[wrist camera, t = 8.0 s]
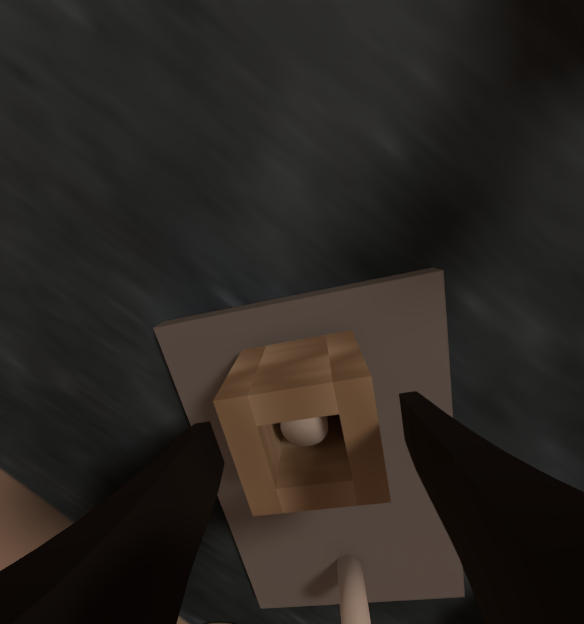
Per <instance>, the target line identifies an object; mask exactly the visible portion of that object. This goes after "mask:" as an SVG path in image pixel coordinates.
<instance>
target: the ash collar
mask: <svg viewBox="0 0 584 624" xmlns="http://www.w3.org/2000/svg"><path fill="white" fill-rule="evenodd" d="M213 403H214V406H215V409H216V412H217V415H218V417H219V420H220V423H221V426H222V429H223V432H224V435H225V438H226V440H227V443H228V446H229V449H230V452H231V455H232V458H233V461H234V463H235V466H236V469H237V472H238V475H239V478H240V481H241V484H242V486H243V489H244V492H245V495H246V498H247V501H248V504H249V507H250V509H251V512H252V515H253V516H261V515H271V514H281V513H291V512H301V511H311V510H321V509H330V508H340V507H350V506H360V505H370V504H380V503H390V502H391V498H390V492H389V485H388V479H387V472H386V466H385V459H384V453H383V447H382V440H381V434H380V427H379V421H378V415H377V408H376V402H375V395H374V389H373V383H372V376H371V374H370V371H369V369H368V367H367V364H366V362H365V359H364V357H363V355H362V352H361V350H360V347H359V345H358V343H357V340H356V338H355V336H354V333H353V331H352V330H349V331H344V332H338V333H333V334H327V335H322V336H316V337H311V338H305V339H300V340H294V341H289V342H283V343H277V344H272V345H266V346H261V347H255V348H250V349H244V350H242V351H241V352H240V354H239V356H238V358H237V359H236V361H235V363H234V365H233V366H232V368H231V370H230V372H229V374H228V375H227V377H226V379H225V381H224V382H223V384H222V386H221V388H220V389H219V391H218V393H217V395H216V397H215V398H214V400H213ZM323 416H327V419H328V432H327V434H326V436H325V438H324V439H323V440H322V441H321V442H319V443H317V444H315V445H312V446H298V445H295V444H293V443H291V442H289V441H288V440H287V439H286V438H285V437H284V435H283V434H282V431H281V422H288V421H295V420H302V419H309V418H316V417H323Z"/></svg>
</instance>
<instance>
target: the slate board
mask: <svg viewBox="0 0 584 624" xmlns="http://www.w3.org/2000/svg"><path fill="white" fill-rule="evenodd" d="M153 329H154V331H155V334H156V337H157V339H158V342H159V344H160V347H161V350H162V352H163V355H164V357H165V360H166V363H167V365H168V368H169V370H170V373H171V376H172V378H173V381H174V383H175V386H176V389H177V391H178V394H179V396H180V399H181V402H182V404H183V407H184V409H185V412H186V415H187V417H188V420H189V423H190V425H191V426H193V425H194V424H195V423H201V422H208V421H210V423H211V426H212V428H213V431H214V434H215V437H216V440H217V443H218V445H219V448H220V451H221V454H222V457H223V459H224V462H225V464H224V469H223V474H222V479H221V483H220V487H219V491H218V494H217V495H218V498H219V501H220V503H221V506H222V508H223V511H224V514H225V516H226V519H227V521H228V524H229V527H230V529H231V532H232V534H233V537H234V540H235V542H236V545H237V547H238V550H239V553H240V555H241V558H242V560H243V563H244V566H245V568H246V571H247V573H248V576H249V579H250V581H251V584H252V586H253V589H254V592H255V594H256V597H257V600H258V602H259V605H260V607H261V608H279V607H296V606H314V605H331V604H340V611H341V624H371V622H370V615H369V609H368V602H383V601H401V600H418V599H436V598H453V597H465V595H464V579H463V566H462V564H461V561H460V559H459V557H458V555H457V552H456V550H455V548H454V546H453V544H452V542H451V540H450V538H449V536H448V534H447V532H446V530H445V528H444V526H443V524H442V522H441V520H440V518H439V516H438V514H437V512H436V510H435V508H434V506H433V504H432V502H431V500H430V498H429V496H428V494H427V492H426V490H425V488H424V486H423V484H422V482H421V479H420V477H419V475H418V473H417V471H416V469H415V467H414V464H413V461H412V459H411V456H410V453H409V451H408V448H407V445H406V442H405V439H404V431H403V423H402V415H401V407H400V399H399V393H406V392H413V391H417V392H419V393H420V394H421V395H423V396H424V397H425V398H427V399H428V400H429V401H431V402H432V403H433V404H435V405H436V406H437V407H439V408H440V409H441V410H443V411H444V412H445V413H447V414H448V415H450V416H451V417H452V418H453V410H452V395H451V380H450V364H449V349H448V334H447V318H446V303H445V288H444V272H443V270H440V269H437V268H434V267H433V268H428V269H423V270H418V271H413V272H408V273H403V274H398V275H393V276H388V277H383V278H378V279H373V280H368V281H363V282H358V283H353V284H348V285H343V286H338V287H333V288H328V289H323V290H318V291H313V292H308V293H303V294H298V295H293V296H288V297H283V298H278V299H273V300H268V301H263V302H258V303H253V304H248V305H243V306H239V307H234V308H229V309H224V310H219V311H214V312H209V313H204V314H199V315H194V316H189V317H184V318H179V319H174V320H169V321H164V322H162V323H160V324H159V325H157V326H156V327H154V328H153ZM349 330H352V331H353V333H354V336H355V338H356V340H357V343H358V345H359V347H360V350H361V352H362V355H363V357H364V359H365V362H366V364H367V367H368V369H369V371H370V374H371V376H372V383H373V389H374V395H375V402H376V408H377V415H378V421H379V427H380V434H381V440H382V447H383V453H384V459H385V466H386V472H387V479H388V485H389V492H390V498H391V502H390V503H380V504H370V505H360V506H350V507H340V508H330V509H321V510H311V511H301V512H291V513H281V514H271V515H261V516H253V515H252V512H251V509H250V507H249V504H248V501H247V498H246V495H245V492H244V489H243V486H242V484H241V481H240V478H239V475H238V472H237V469H236V466H235V463H234V461H233V458H232V455H231V452H230V449H229V446H228V443H227V440H226V438H225V435H224V432H223V429H222V426H221V423H220V420H219V417H218V415H217V412H216V409H215V406H214V403H213V400H214V398H215V397H216V395H217V393H218V391H219V389H220V388H221V386H222V384H223V382H224V381H225V379H226V377H227V375H228V374H229V372H230V370H231V368H232V366H233V365H234V363H235V361H236V359H237V358H238V356H239V354H240V352H241V351H242V350H244V349H250V348H255V347H261V346H266V345H272V344H277V343H283V342H289V341H294V340H300V339H305V338H311V337H316V336H322V335H327V334H333V333H338V332H344V331H349ZM281 431H282V434H283V435H284V437H285V438H286V439H287V440H288V441H289V442H291V443H293V444H295V445H298V446H312V445H315V444H317V443H319V442H321V441H322V440H323V439H324V438H325V436H326V434H327V432H328V419H327V416H323V417H316V418H309V419H302V420H295V421H288V422H281Z"/></svg>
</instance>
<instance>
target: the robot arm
mask: <svg viewBox="0 0 584 624" xmlns="http://www.w3.org/2000/svg"><path fill="white" fill-rule="evenodd" d="M399 399H400V407H401V415H402V423H403V431H404V439H405V442H406V445H407V448H408V451H409V453H410V456H411V459H412V461H413V464H414V467H415V469H416V471H417V473H418V475H419V477H420V479H421V482H422V484H423V486H424V488H425V490H426V492H427V494H428V496H429V498H430V500H431V502H432V504H433V506H434V508H435V510H436V512H437V514H438V516H439V518H440V520H441V522H442V524H443V526H444V528H445V530H446V532H447V534H448V536H449V538H450V540H451V542H452V544H453V546H454V548H455V550H456V552H457V555H458V557H459V559H460V561H461V564H462V566H463V569H464V571H465V573H466V576H467V578H468V581H469V583H470V586H471V588H472V591H473V593H474V595H475V598H476V600H477V603H478V605H479V608H480V610H481V613H482V615H483V618H484V620H485V623H486V624H584V492H582V491H580V490H578V489H576V488H574V487H572V486H570V485H568V484H565V483H563V482H561V481H559V480H557V479H555V478H553V477H551V476H549V475H547V474H545V473H543V472H541V471H540V470H538V469H536V468H534V467H532V466H530V465H528V464H527V463H525V462H523V461H521V460H519V459H517V458H516V457H514V456H512V455H510V454H508V453H507V452H505V451H503V450H502V449H500V448H498V447H497V446H495V445H493V444H492V443H490V442H489V441H487V440H485V439H484V438H482V437H480V436H479V435H477V434H476V433H474V432H473V431H471V430H470V429H468V428H467V427H465V426H464V425H462V424H461V423H460V422H458V421H457V420H455V419H454V418H452V417H451V416H450V415H448V414H447V413H445V412H444V411H443V410H441V409H440V408H439V407H437V406H436V405H435V404H433V403H432V402H431V401H429V400H428V399H427V398H425V397H424V396H423V395H421V394H420V393H419V392H417V391H413V392H406V393H399ZM224 464H225V462H224V459H223V457H222V454H221V451H220V448H219V445H218V443H217V440H216V437H215V434H214V431H213V428H212V426H211V423H210V421H208V422H201V423H195V424H194V425H193V426H191V427H190V428H189V429H188V430H186V431H185V432H184V433H183V434H182V435H181V436H180V437H178V438H177V439H176V440H175V441H174V442H173V443H172V444H171V445H170V446H168V447H167V448H166V449H165V450H164V451H163V452H162V453H161V454H159V455H158V456H157V457H156V458H155V459H154V460H153V461H152V462H151V463H149V464H148V465H147V466H146V467H145V468H144V469H142V470H141V471H140V472H139V473H138V474H137V475H135V476H134V477H133V478H132V479H131V480H129V481H128V482H127V483H126V484H125V485H123V486H122V487H121V488H120V489H119V490H117V491H116V492H115V493H114V494H112V495H111V496H110V497H109V498H107V499H106V500H105V501H104V502H102V503H101V504H100V505H98V506H97V507H96V508H94V509H93V510H92V511H90V512H89V513H87V514H86V515H85V516H83V517H82V518H81V519H79V520H78V521H76V522H75V523H74V524H72V525H71V526H69V527H68V528H66V529H65V530H63V531H62V532H60V533H59V534H57V535H56V536H54V537H53V538H51V539H50V540H48V541H47V542H46V543H44V544H43V545H41V546H40V547H38V548H37V549H35V550H34V551H32V552H30V553H29V554H27V555H26V556H24V557H22V558H21V559H19V560H18V561H16V562H14V563H13V564H11V565H10V566H8V567H6V568H5V569H3V570H1V571H0V624H176V623H177V619H178V616H179V612H180V608H181V604H182V601H183V597H184V593H185V589H186V586H187V582H188V578H189V575H190V572H191V569H192V566H193V563H194V560H195V557H196V554H197V551H198V548H199V546H200V543H201V540H202V537H203V534H204V532H205V529H206V526H207V523H208V520H209V517H210V515H211V512H212V509H213V506H214V503H215V500H216V497H217V494H218V491H219V487H220V483H221V479H222V474H223V469H224Z"/></svg>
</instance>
